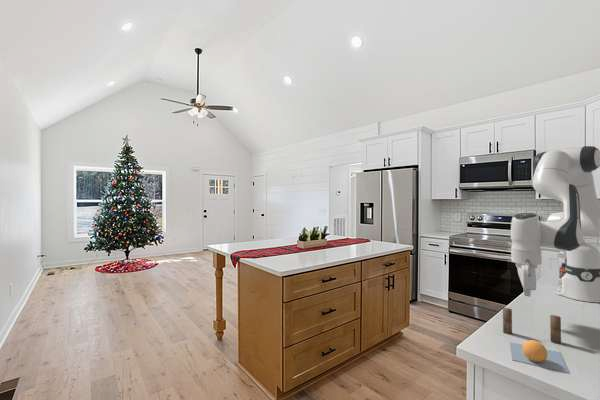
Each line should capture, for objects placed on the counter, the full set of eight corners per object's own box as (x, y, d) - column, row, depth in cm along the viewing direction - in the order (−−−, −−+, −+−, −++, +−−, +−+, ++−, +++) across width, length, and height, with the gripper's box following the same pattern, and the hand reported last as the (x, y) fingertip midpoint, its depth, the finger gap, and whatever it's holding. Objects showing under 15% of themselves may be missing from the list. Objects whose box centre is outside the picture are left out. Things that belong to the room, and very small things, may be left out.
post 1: (503, 330, 102) (502, 307, 102) (511, 332, 100) (511, 308, 100) (503, 333, 99) (502, 309, 100) (512, 335, 98) (512, 311, 98)
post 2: (550, 339, 95) (549, 314, 95) (560, 341, 93) (559, 316, 93) (551, 342, 93) (550, 317, 93) (561, 344, 91) (561, 318, 91)
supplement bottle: (556, 283, 156) (555, 262, 156) (566, 283, 156) (566, 262, 156) (567, 286, 150) (567, 264, 150) (578, 286, 150) (577, 264, 150)
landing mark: (509, 342, 93) (509, 341, 93) (559, 352, 86) (559, 352, 86) (512, 360, 83) (512, 359, 83) (569, 373, 76) (569, 372, 76)
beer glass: (578, 281, 160) (577, 253, 160) (563, 280, 161) (562, 253, 161) (569, 277, 166) (568, 251, 166) (554, 277, 168) (554, 251, 168)
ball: (522, 361, 84) (521, 342, 87) (547, 367, 81) (545, 347, 84) (523, 354, 81) (522, 334, 84) (549, 360, 78) (547, 339, 81)
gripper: (541, 264, 97) (542, 306, 97) (533, 253, 114) (534, 288, 114) (517, 262, 100) (518, 302, 101) (513, 252, 118) (514, 286, 118)
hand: (527, 295), depth 108 cm, fingers closed
